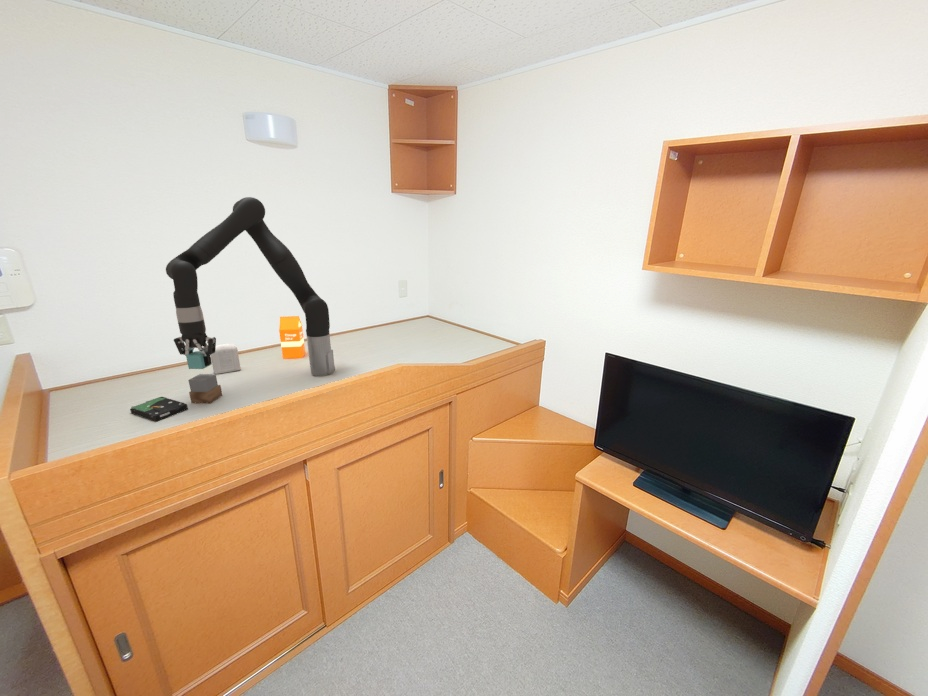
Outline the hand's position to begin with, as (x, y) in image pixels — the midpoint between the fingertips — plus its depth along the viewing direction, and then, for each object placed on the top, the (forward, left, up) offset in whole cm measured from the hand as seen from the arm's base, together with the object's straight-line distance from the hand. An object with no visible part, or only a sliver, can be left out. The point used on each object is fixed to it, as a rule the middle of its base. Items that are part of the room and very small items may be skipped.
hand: (200, 365), depth 141 cm
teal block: (0, 0, 0) cm, 0 cm away
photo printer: (+10, -29, -13) cm, 34 cm away
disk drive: (+10, +10, -14) cm, 20 cm away
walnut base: (0, 0, -13) cm, 13 cm away
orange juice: (-10, -51, -13) cm, 54 cm away
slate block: (0, 0, -9) cm, 9 cm away
